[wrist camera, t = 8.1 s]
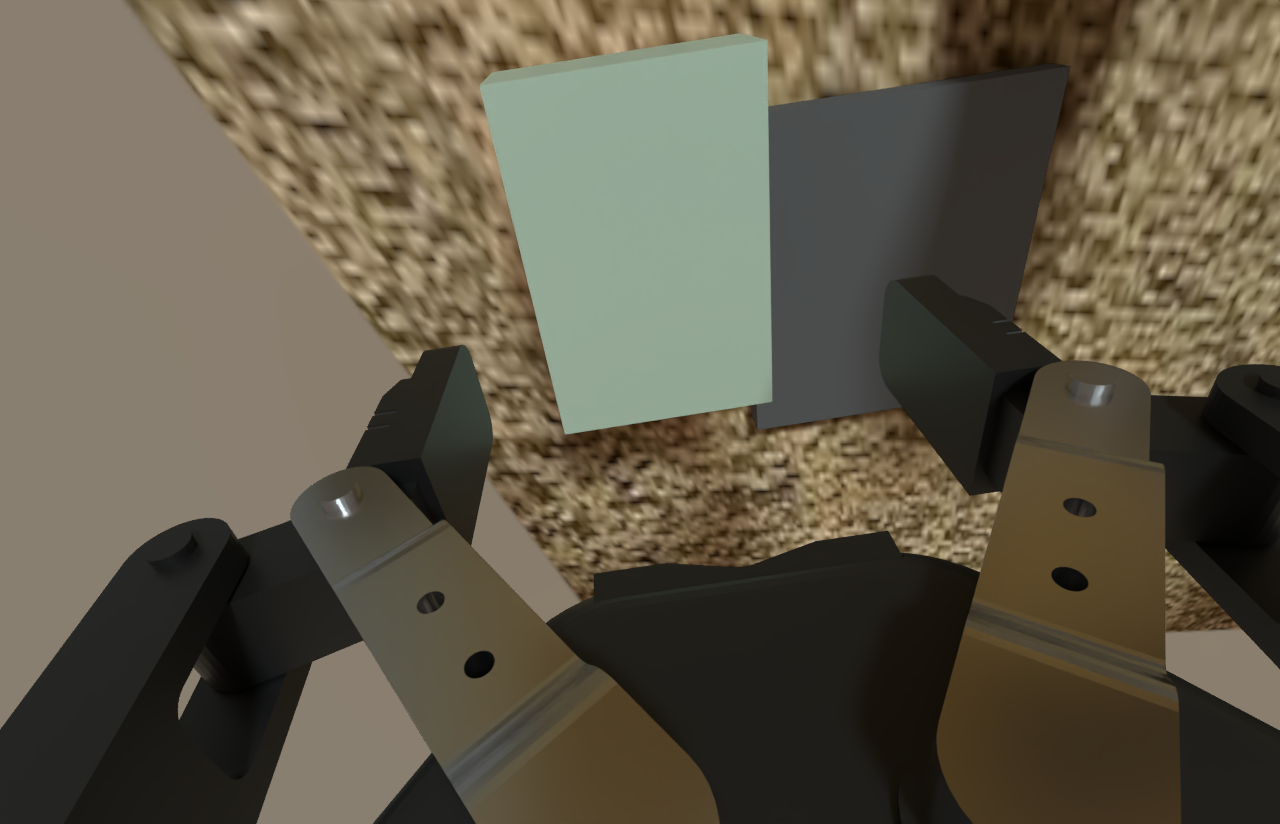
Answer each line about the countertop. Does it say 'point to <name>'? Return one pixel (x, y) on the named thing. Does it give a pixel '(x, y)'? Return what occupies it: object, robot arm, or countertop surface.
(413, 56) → the countertop surface
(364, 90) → the countertop surface
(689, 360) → the block
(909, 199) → the mat
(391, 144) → the countertop surface
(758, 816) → the robot arm
